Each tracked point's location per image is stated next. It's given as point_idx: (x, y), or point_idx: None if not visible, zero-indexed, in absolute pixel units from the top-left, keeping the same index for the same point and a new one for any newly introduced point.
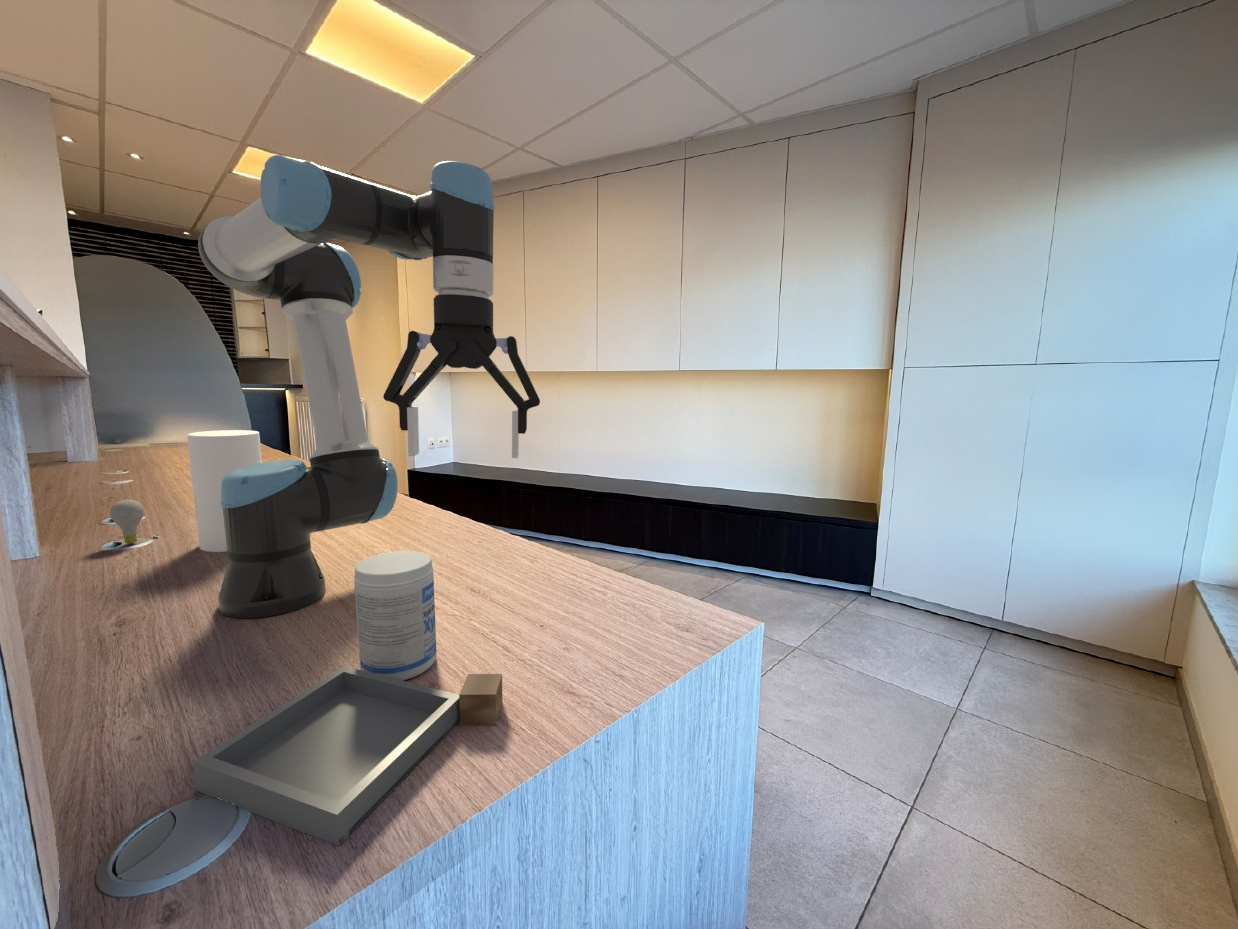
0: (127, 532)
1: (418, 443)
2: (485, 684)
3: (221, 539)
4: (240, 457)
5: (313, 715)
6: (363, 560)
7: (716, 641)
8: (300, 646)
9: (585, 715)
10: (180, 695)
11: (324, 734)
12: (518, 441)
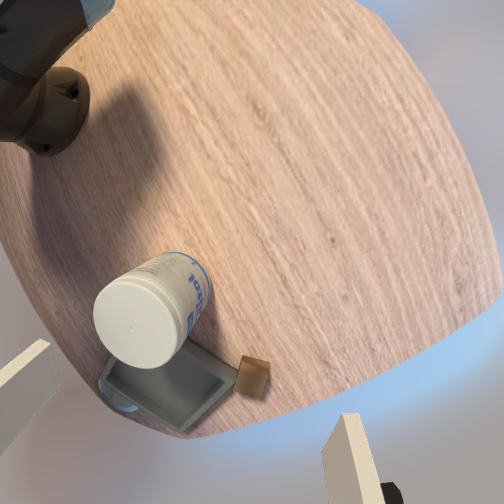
0: None
1: (34, 361)
2: (253, 386)
3: None
4: None
5: None
6: (96, 309)
7: (465, 315)
8: (91, 220)
9: (325, 386)
10: (52, 274)
11: None
12: (369, 448)
